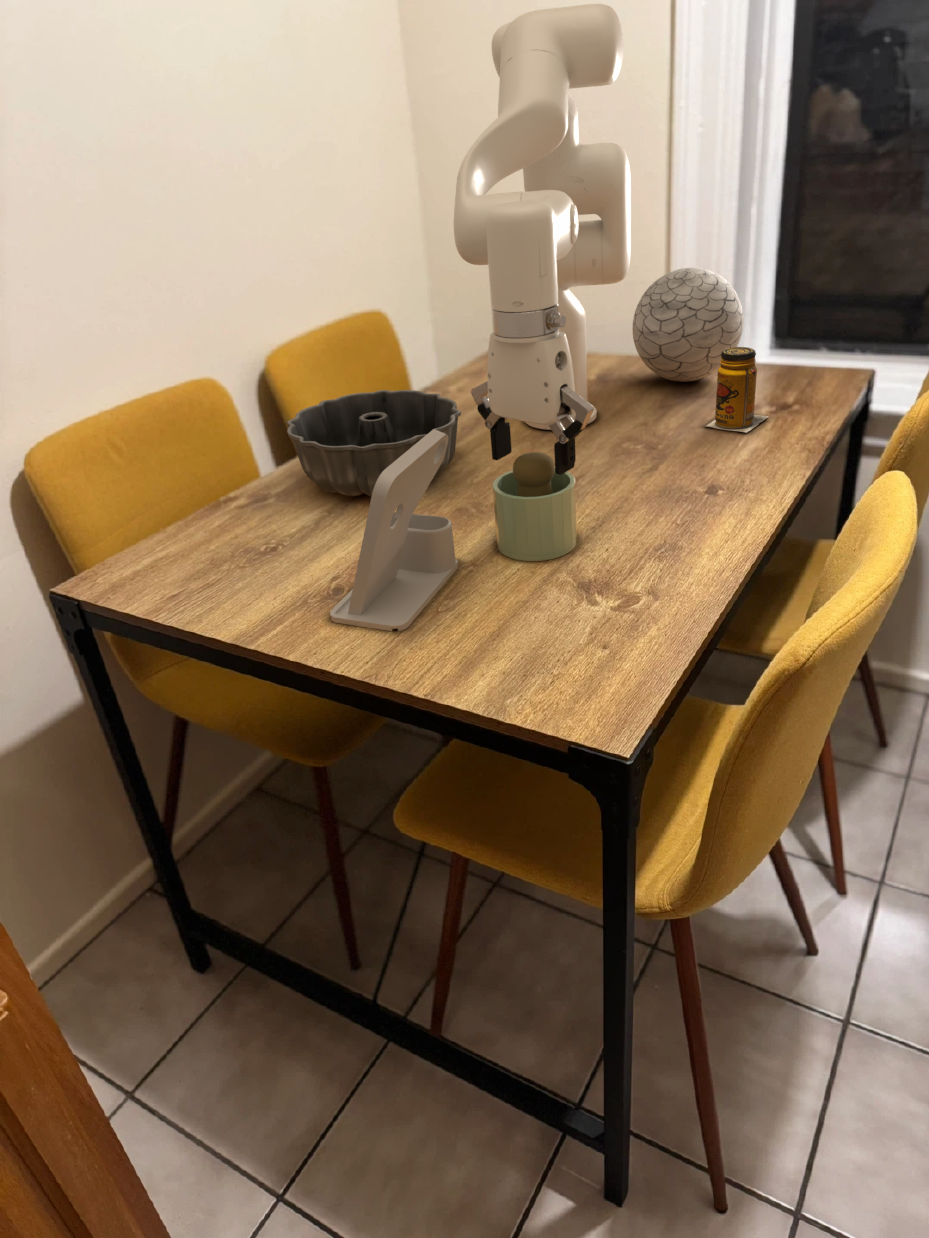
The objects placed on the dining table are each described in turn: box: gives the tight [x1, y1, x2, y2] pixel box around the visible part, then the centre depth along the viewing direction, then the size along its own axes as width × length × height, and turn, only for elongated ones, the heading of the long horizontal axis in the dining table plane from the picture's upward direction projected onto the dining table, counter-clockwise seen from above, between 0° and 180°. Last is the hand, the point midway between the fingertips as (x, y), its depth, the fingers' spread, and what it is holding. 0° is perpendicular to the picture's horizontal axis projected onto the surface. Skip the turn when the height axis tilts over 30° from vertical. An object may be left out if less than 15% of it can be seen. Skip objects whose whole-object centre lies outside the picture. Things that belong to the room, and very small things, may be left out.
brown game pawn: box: [512, 451, 555, 497], centre depth 112 cm, size 6×6×11 cm
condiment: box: [705, 346, 770, 433], centre depth 143 cm, size 7×8×12 cm
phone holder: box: [329, 429, 459, 632], centre depth 103 cm, size 17×10×18 cm, turn 157°
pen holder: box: [492, 469, 577, 562], centre depth 113 cm, size 10×10×8 cm
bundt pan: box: [286, 389, 462, 498], centre depth 137 cm, size 26×26×10 cm
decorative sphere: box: [631, 267, 744, 383], centre depth 164 cm, size 20×20×20 cm
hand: (532, 463), depth 110 cm, fingers open, 9 cm apart
